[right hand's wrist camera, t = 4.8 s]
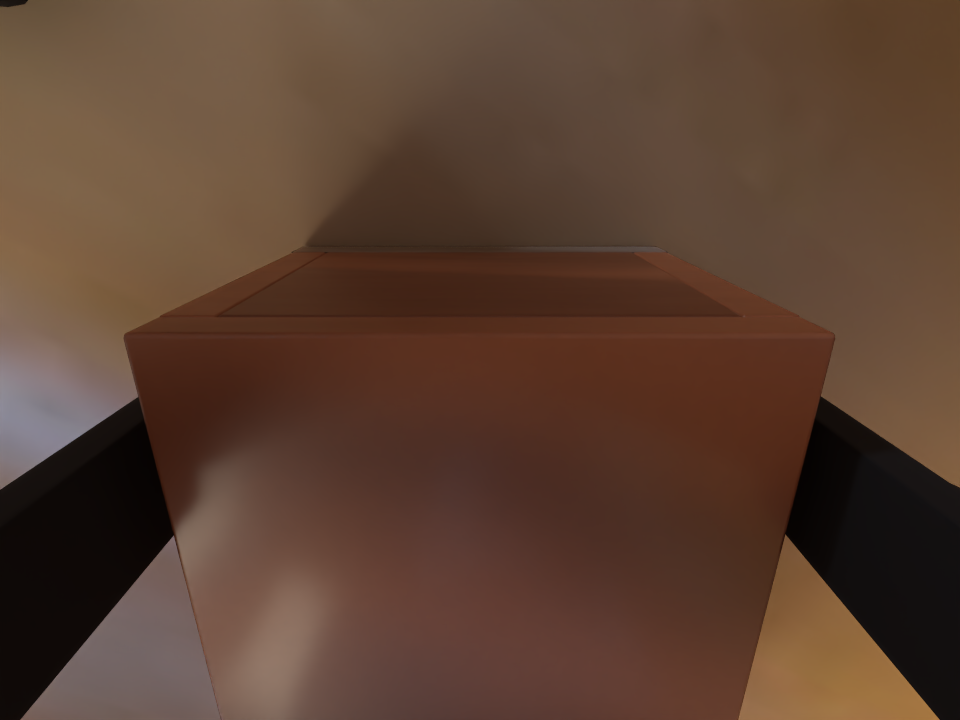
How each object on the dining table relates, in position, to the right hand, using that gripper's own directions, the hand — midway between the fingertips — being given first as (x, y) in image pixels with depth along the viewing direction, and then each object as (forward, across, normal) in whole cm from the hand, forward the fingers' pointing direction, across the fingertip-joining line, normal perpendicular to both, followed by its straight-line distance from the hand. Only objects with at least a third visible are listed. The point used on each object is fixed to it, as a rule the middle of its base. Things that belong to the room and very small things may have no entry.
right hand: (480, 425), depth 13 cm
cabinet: (+5, 0, -6) cm, 8 cm away
